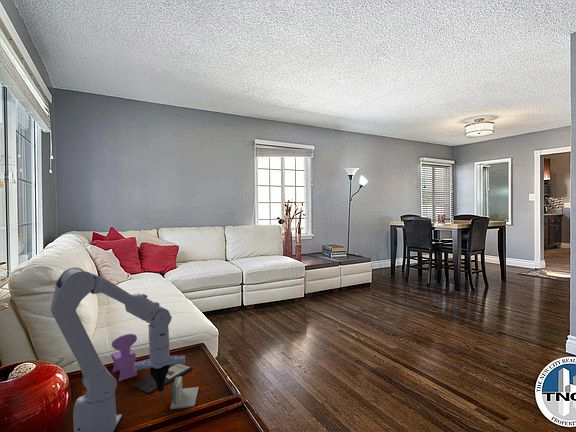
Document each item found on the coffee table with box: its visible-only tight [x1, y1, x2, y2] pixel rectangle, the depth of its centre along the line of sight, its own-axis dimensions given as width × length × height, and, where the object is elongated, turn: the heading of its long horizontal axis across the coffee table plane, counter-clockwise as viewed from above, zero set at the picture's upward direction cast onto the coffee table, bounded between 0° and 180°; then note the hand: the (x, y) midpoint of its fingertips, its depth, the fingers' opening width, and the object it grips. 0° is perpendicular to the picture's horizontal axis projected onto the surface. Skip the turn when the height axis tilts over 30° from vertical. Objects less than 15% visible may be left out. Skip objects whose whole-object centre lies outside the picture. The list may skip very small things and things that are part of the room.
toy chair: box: [110, 333, 139, 382], centre depth 116 cm, size 8×9×15 cm
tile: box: [171, 376, 184, 404], centre depth 100 cm, size 2×6×5 cm, turn 9°
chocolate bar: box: [131, 364, 193, 395], centre depth 113 cm, size 9×1×18 cm
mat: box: [169, 386, 200, 410], centre depth 100 cm, size 7×10×1 cm
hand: (161, 389), depth 99 cm, fingers closed
